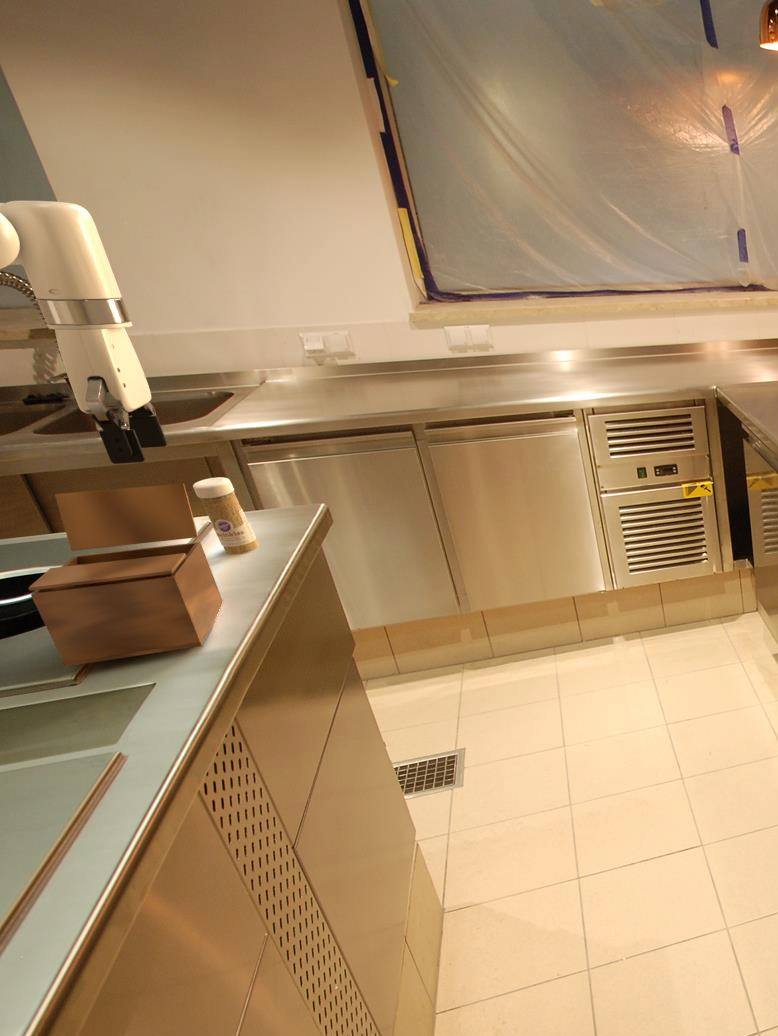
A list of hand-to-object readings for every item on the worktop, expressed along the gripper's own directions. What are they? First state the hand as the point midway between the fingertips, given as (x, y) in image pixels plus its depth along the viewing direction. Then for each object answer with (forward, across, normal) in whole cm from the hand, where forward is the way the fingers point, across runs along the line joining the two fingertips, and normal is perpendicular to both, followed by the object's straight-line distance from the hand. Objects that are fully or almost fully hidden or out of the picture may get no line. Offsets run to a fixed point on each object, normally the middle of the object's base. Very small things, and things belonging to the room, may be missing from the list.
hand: (141, 454), depth 109 cm
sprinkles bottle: (+22, -20, +2) cm, 29 cm away
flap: (+8, 0, -4) cm, 9 cm away
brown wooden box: (+22, +8, -4) cm, 24 cm away
